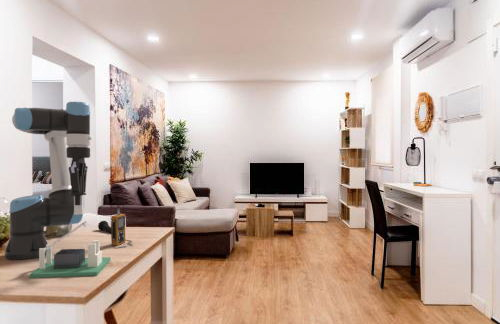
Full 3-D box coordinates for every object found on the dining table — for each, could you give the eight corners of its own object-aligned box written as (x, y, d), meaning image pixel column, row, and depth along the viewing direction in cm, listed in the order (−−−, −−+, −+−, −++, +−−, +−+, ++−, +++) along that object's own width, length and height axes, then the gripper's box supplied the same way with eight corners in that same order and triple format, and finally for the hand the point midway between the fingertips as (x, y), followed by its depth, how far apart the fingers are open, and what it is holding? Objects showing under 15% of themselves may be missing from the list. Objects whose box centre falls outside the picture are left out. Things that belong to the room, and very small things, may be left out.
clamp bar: (43, 255, 129) (39, 250, 129) (48, 252, 133) (44, 247, 133) (85, 226, 131) (81, 221, 130) (88, 224, 135) (85, 219, 134)
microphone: (119, 240, 189) (103, 230, 203) (123, 229, 190) (107, 220, 203) (110, 238, 186) (94, 228, 199) (113, 228, 186) (98, 218, 200)
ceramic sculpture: (74, 218, 184) (40, 223, 174) (76, 236, 184) (41, 242, 175) (69, 215, 192) (36, 220, 183) (70, 232, 193) (37, 238, 183)
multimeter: (128, 249, 160) (128, 202, 159) (106, 248, 161) (106, 201, 161) (144, 241, 174) (144, 198, 174) (124, 240, 176) (123, 197, 175)
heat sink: (53, 269, 128) (53, 254, 127) (62, 262, 136) (62, 249, 135) (78, 268, 129) (78, 254, 129) (85, 261, 137) (85, 248, 136)
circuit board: (29, 277, 122) (29, 250, 122) (51, 262, 140) (51, 238, 140) (97, 275, 125) (97, 248, 124) (110, 260, 142) (110, 236, 142)
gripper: (83, 146, 126) (84, 216, 126) (94, 147, 139) (95, 211, 139) (60, 146, 125) (60, 217, 125) (73, 147, 138) (73, 211, 138)
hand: (78, 214), depth 132 cm, fingers closed
